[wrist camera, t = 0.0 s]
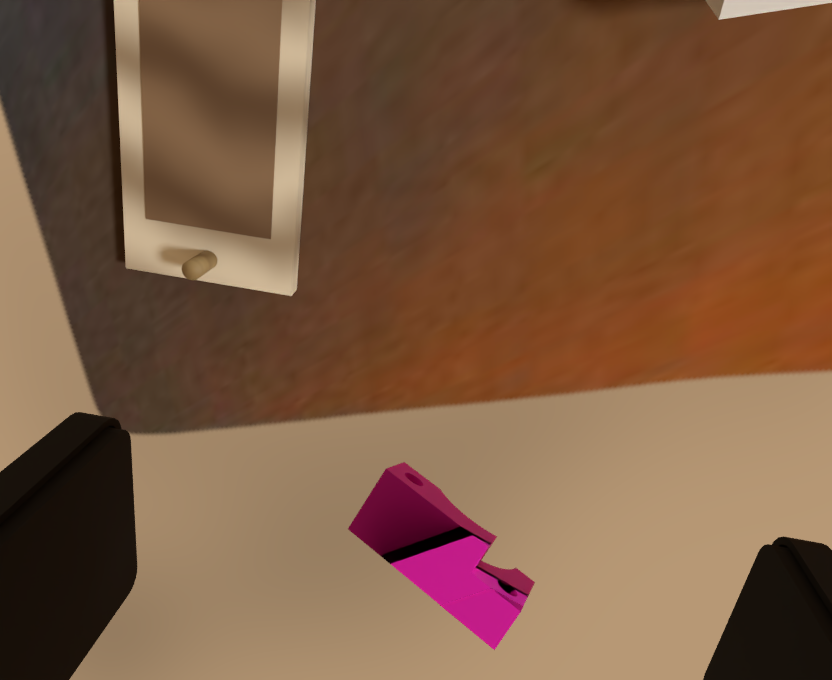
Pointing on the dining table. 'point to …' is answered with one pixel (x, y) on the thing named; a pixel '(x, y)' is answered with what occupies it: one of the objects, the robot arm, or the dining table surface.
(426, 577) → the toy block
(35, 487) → the robot arm
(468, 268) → the dining table surface
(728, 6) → the white cube
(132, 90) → the serving tray
